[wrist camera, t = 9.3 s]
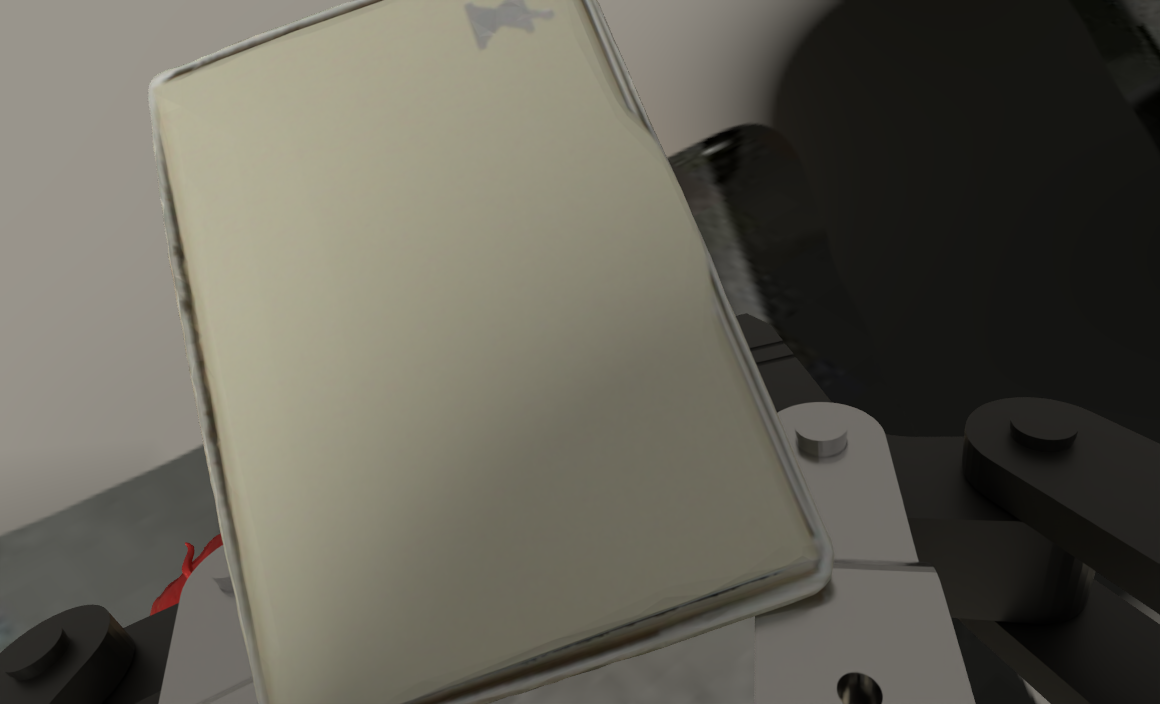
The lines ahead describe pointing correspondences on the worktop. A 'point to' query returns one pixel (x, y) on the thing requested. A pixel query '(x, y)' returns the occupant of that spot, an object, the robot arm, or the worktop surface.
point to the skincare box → (463, 358)
